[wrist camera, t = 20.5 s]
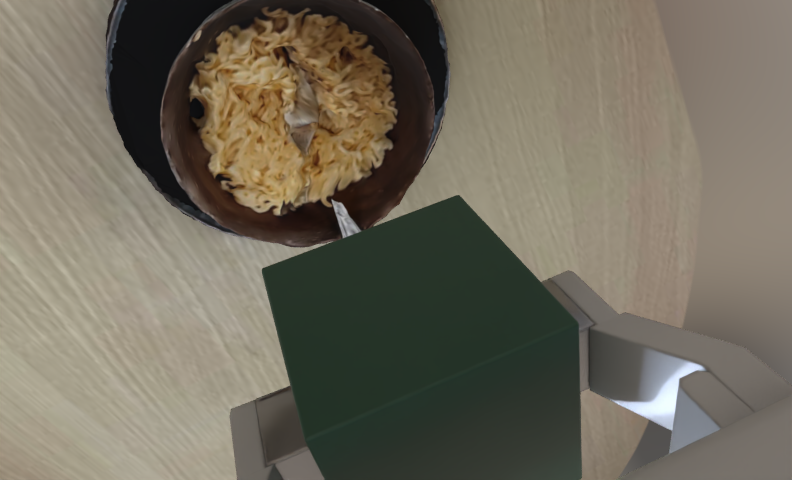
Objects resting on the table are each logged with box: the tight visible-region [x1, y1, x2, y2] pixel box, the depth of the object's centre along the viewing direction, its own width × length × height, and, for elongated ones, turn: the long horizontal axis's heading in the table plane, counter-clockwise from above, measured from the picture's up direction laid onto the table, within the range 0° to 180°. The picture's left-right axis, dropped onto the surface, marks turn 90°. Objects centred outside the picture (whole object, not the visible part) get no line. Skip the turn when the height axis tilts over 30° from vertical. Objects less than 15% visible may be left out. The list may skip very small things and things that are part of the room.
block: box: [262, 195, 582, 480], centre depth 11 cm, size 4×4×4 cm
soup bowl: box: [106, 0, 451, 247], centre depth 23 cm, size 15×16×7 cm
